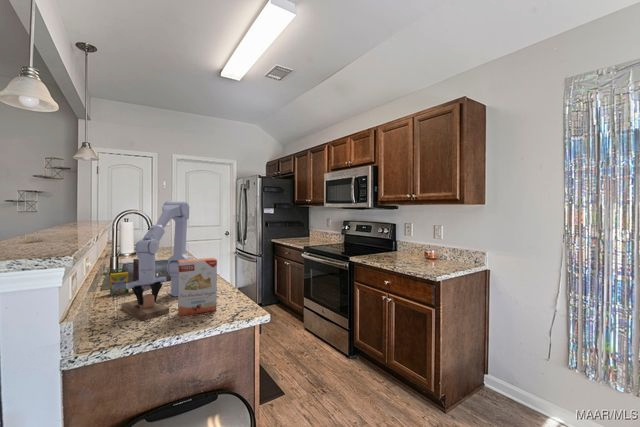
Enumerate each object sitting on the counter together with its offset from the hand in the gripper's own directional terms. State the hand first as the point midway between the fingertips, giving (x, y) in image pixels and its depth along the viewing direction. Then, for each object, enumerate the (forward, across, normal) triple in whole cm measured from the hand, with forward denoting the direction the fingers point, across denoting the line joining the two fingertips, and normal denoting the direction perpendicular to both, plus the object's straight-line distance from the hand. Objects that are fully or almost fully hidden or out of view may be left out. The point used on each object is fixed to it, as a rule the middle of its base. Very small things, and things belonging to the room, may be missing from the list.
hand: (147, 302), depth 120 cm
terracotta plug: (+3, 0, 0) cm, 3 cm away
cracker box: (+3, -11, +18) cm, 21 cm away
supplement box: (+3, -12, -32) cm, 34 cm away
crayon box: (+3, -2, -34) cm, 34 cm away
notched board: (+3, +1, 0) cm, 3 cm away
